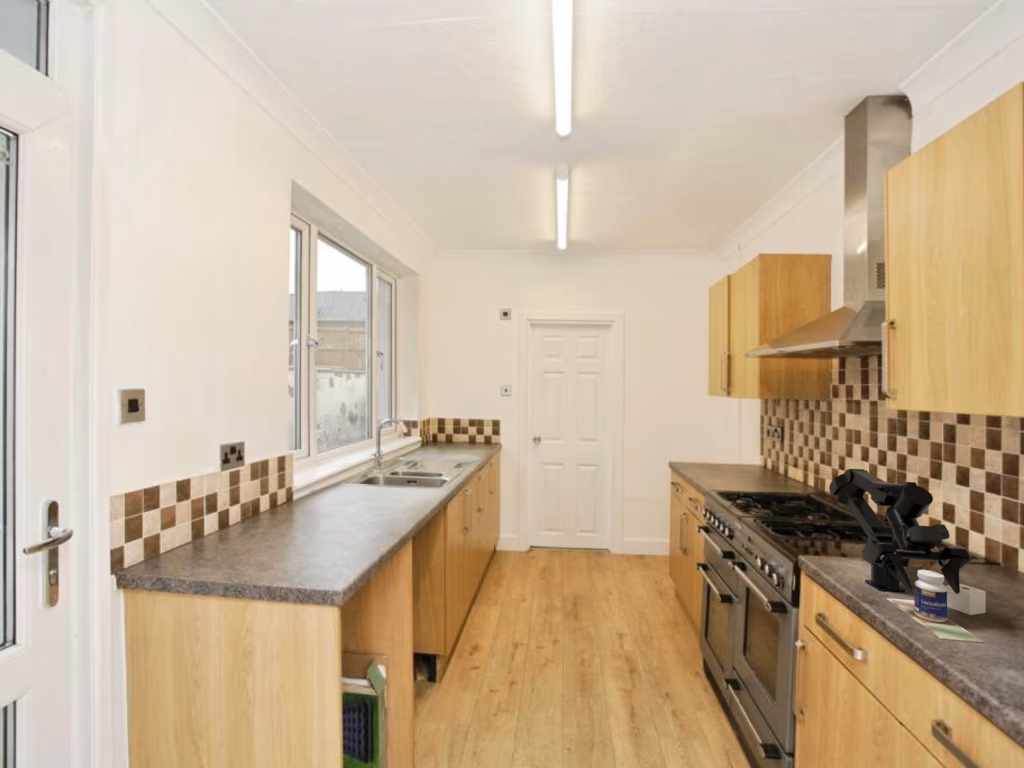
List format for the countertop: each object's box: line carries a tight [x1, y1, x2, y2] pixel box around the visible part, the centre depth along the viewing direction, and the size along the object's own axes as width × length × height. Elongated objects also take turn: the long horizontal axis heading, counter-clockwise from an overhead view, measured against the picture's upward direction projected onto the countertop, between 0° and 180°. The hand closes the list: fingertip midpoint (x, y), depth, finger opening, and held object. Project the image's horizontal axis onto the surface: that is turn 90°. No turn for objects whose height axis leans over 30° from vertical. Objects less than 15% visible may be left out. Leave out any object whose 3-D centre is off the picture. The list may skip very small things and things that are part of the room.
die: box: [945, 583, 987, 616], centre depth 120 cm, size 5×5×5 cm
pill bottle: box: [913, 569, 948, 622], centre depth 115 cm, size 6×6×10 cm
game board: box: [886, 597, 984, 644], centre depth 115 cm, size 21×8×1 cm, turn 169°
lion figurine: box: [903, 546, 940, 579], centre depth 143 cm, size 15×5×9 cm, turn 94°
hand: (934, 591), depth 113 cm, fingers open, 9 cm apart
